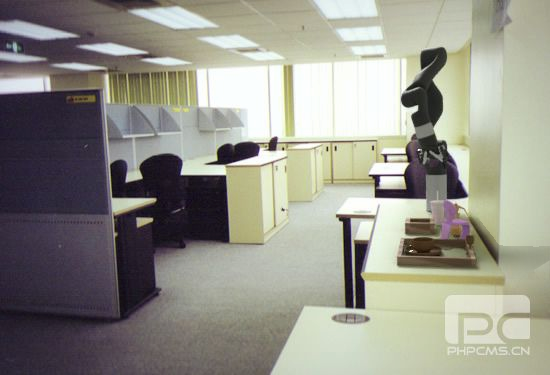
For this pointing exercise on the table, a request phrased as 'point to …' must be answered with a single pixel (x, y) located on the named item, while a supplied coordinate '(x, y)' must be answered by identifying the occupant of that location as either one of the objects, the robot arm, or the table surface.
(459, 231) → the figurine
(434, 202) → the smoothie
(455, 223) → the toy chair
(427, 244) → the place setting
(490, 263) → the table surface
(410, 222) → the holder
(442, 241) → the tray rim
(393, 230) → the table surface
